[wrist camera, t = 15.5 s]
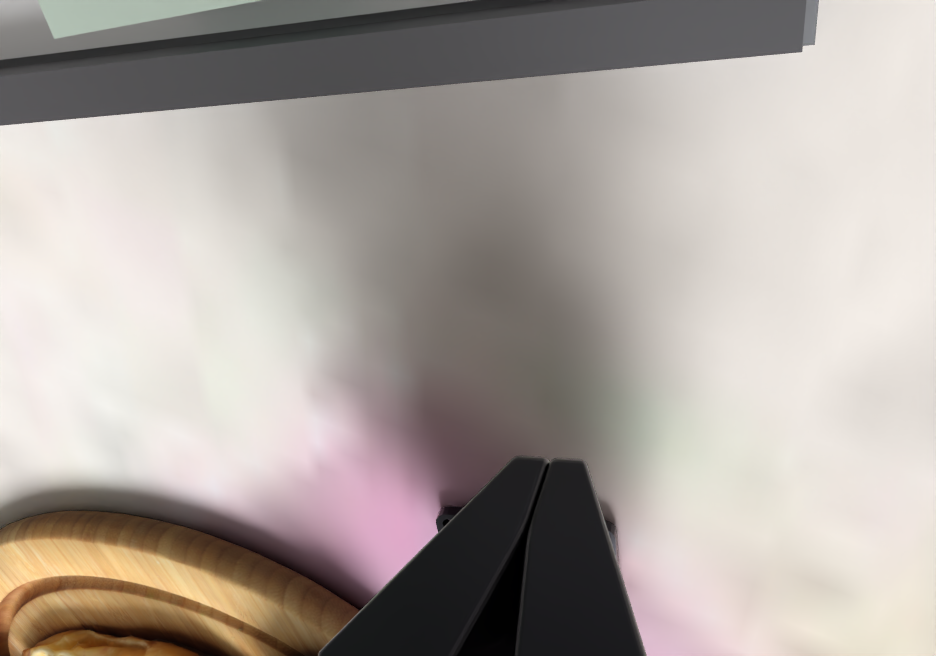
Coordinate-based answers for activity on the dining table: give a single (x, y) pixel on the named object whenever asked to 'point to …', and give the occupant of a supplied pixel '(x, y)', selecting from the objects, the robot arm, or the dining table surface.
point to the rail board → (365, 48)
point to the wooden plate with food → (152, 592)
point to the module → (118, 12)
